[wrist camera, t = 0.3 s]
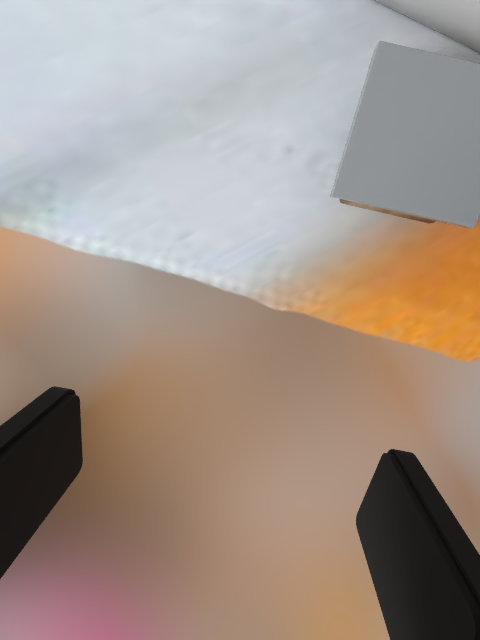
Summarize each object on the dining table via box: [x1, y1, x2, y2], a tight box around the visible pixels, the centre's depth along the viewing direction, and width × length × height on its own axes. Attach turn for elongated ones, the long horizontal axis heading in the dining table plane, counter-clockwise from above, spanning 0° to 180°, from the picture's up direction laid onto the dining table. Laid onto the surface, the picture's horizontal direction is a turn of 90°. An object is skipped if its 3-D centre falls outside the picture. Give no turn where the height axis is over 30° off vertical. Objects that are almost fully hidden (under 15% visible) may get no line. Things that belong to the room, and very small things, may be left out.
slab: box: [330, 41, 480, 228], centre depth 26 cm, size 12×14×1 cm
